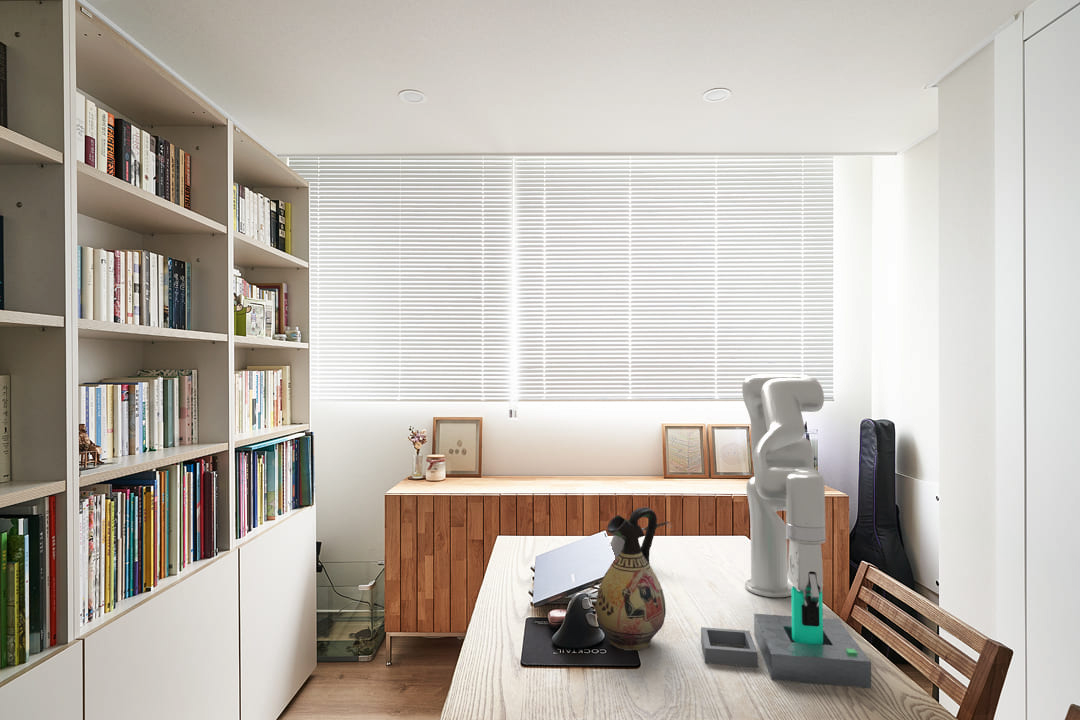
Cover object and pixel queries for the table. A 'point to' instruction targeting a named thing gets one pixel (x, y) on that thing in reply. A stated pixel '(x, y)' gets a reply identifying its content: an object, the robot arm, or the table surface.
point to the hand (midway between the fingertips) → (806, 618)
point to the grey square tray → (726, 653)
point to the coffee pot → (619, 542)
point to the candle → (798, 629)
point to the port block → (811, 654)
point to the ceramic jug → (631, 587)
